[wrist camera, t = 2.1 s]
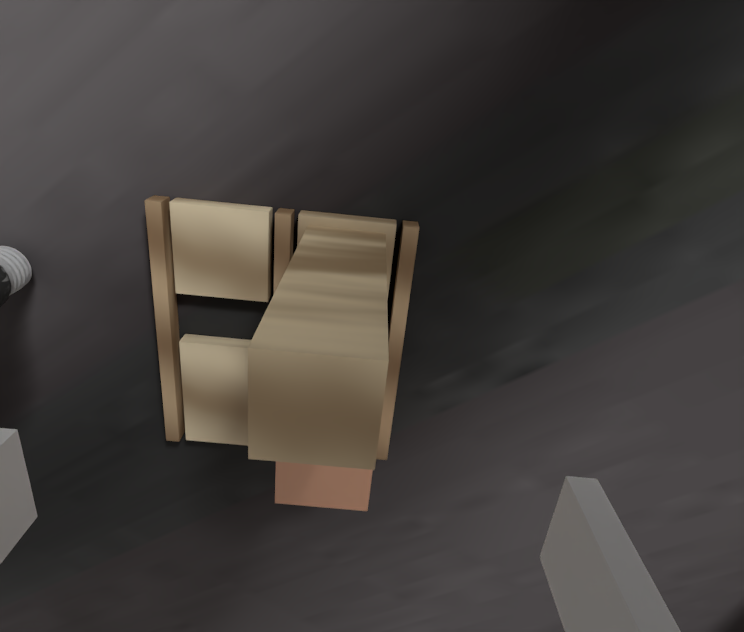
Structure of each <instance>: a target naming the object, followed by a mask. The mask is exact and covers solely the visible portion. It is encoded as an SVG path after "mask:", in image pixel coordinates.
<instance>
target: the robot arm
mask: <svg viewBox="0 0 744 632" xmlns="http://www.w3.org/2000/svg"><path fill="white" fill-rule="evenodd" d="M37 517H38V516H37V512H36V507H35V503H34V499H33V494H32V490H31V486H30V481H29V477H28V473H27V469H26V464H25V460H24V456H23V451H22V447H21V443H20V438H19V434H18V430H17V429H6V428H0V564H1V563H2V561H3V560H4V559H5V558H6V556H7V555H8V554H9V552H10V551H11V550H12V549H13V547H14V546H15V545H16V543H17V542H18V541H19V540H20V538H21V537H22V536H23V535H24V533H25V532H26V531H27V529H28V528H29V527H30V526H31V524H32V523H33V522H34V520H35V519H36V518H37ZM540 559H541V562H542V565H543V568H544V571H545V574H546V577H547V580H548V583H549V586H550V589H551V592H552V595H553V598H554V601H555V604H556V607H557V610H558V613H559V616H560V619H561V621H562V624H563V627H564V630H565V632H681V631H680V630H679V628H678V626H677V624H676V622H675V620H674V619H673V617H672V615H671V613H670V611H669V609H668V608H667V606H666V604H665V602H664V600H663V599H662V597H661V595H660V593H659V591H658V589H657V588H656V586H655V584H654V582H653V580H652V578H651V577H650V575H649V573H648V571H647V569H646V567H645V566H644V564H643V562H642V560H641V558H640V557H639V555H638V553H637V551H636V549H635V547H634V546H633V544H632V542H631V540H630V538H629V536H628V535H627V533H626V531H625V529H624V527H623V526H622V524H621V522H620V520H619V518H618V516H617V515H616V513H615V511H614V509H613V507H612V505H611V504H610V502H609V500H608V498H607V496H606V494H605V493H604V491H603V489H602V487H601V485H600V484H599V482H598V480H597V479H593V478H581V477H569V476H566V478H565V481H564V484H563V487H562V490H561V493H560V496H559V499H558V502H557V505H556V508H555V511H554V514H553V517H552V521H551V524H550V527H549V530H548V533H547V536H546V539H545V542H544V545H543V548H542V551H541V554H540Z"/></svg>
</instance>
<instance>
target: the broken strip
mask: <svg viewBox="0 0 744 632" xmlns="http://www.w3.org/2000/svg"><path fill="white" fill-rule="evenodd" d="M169 205H170V219H171V233H172V248H173V262H174V276H175V290H176V293H178V294H188V295H199V296H209V297H219V298H230V299H240V300H251V301H261V302H268V300H269V298H270V296H271V276H272V211H273V207H265V206H255V205H245V204H235V203H225V202H215V201H205V200H195V199H185V198H175V199H173V200H172V201H170V202H169ZM250 342H251V340H246V339H235V338H225V337H214V336H203V335H193V334H185V335H184V336H183V337H182V339H181V340H180V341H179V348H180V362H181V376H182V390H183V405H184V419H185V433H186V440H191V441H202V442H213V443H224V444H236V445H247V446H248V346H249V344H250Z"/></svg>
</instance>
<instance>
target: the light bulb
mask: <svg viewBox="0 0 744 632" xmlns="http://www.w3.org/2000/svg"><path fill="white" fill-rule="evenodd" d="M31 276H32V272H31V266H30V264H29V262H28V260H27V258H26V257H25V256H24V255H23V254H21V253H20V252H19V251H18V250H16V249H14V248H11V247H8V246H0V307H1V306H2V305H3V304H4V303H5V302H6V301H7V299H8V297H9V296H10V295H11V294H13V293H15V292H17V291H18V290H20V289H21V288H23V286H24V285H26V284H27V283H28V282H29V281H30V279H31Z"/></svg>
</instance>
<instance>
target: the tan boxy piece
mask: <svg viewBox="0 0 744 632" xmlns="http://www.w3.org/2000/svg"><path fill="white" fill-rule="evenodd" d="M396 226H397V224H396V220H394V219H384V218H374V217H364V216H354V215H344V214H334V213H324V212H314V211H305V210H301V211H300V213H299V215H298V239H297V248H296V251H295V253H294V255H293V257H292V259H291V261H290V263H289V265H288V267H287V269H286V271H285V273H284V275H283V277H282V279H281V281H280V283H279V285H278V287H277V289H276V291H275V293H274V295H273V297H272V299H271V301H270V303H269V305H268V307H267V309H266V311H265V313H264V315H263V318H262V320H261V322H260V324H259V326H258V328H257V330H256V332H255V334H254V336H253V338H252V340H251V342H250V344H249V346H248V459H255V460H266V461H278V462H289V463H300V464H312V465H323V466H334V467H346V468H357V469H368V470H375V464H376V456H377V448H378V440H379V433H380V425H381V417H382V409H383V402H384V394H385V386H386V378H387V370H388V363H389V353H388V309H387V300H388V292H389V284H390V276H391V267H392V259H393V251H394V242H395V234H396Z"/></svg>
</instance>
